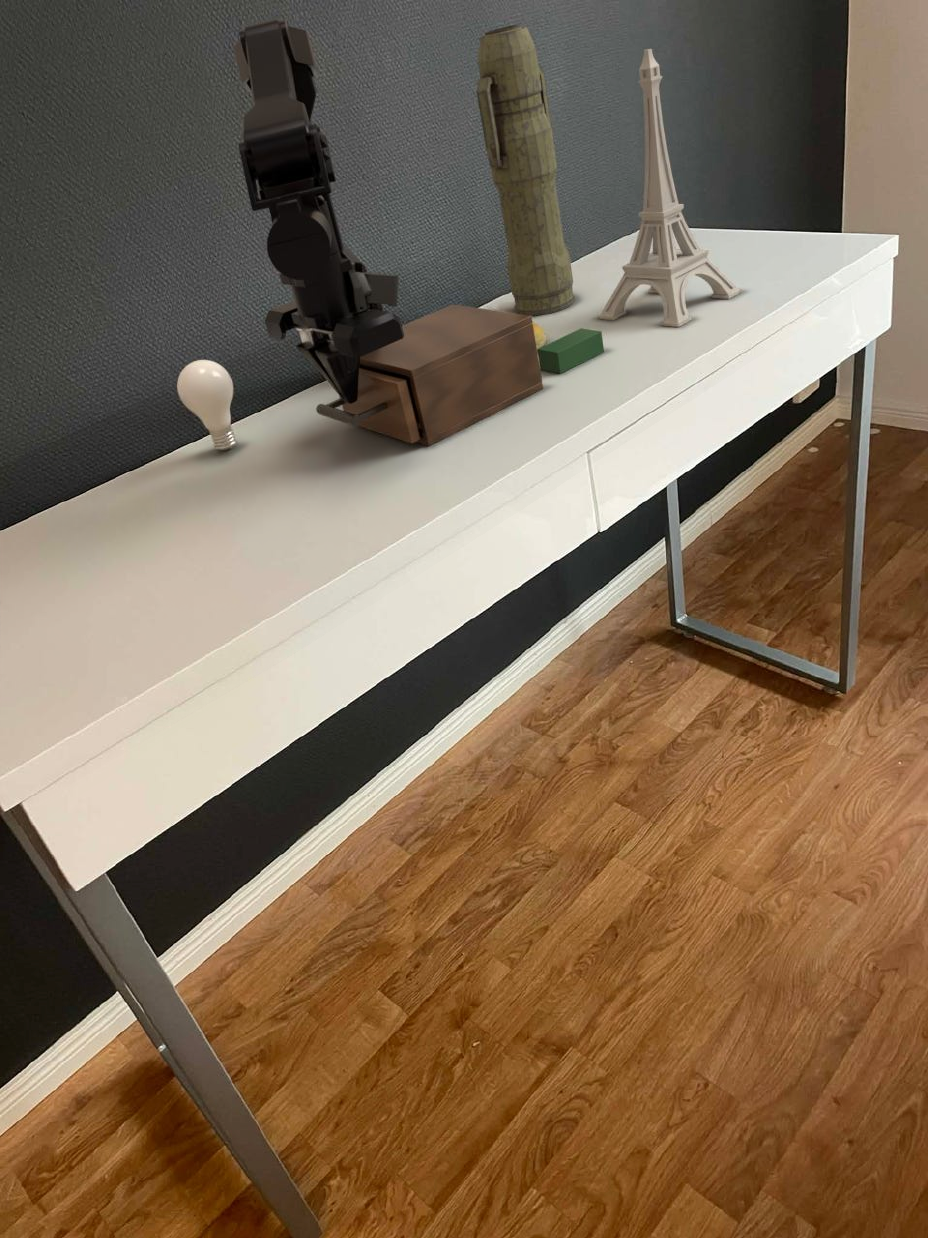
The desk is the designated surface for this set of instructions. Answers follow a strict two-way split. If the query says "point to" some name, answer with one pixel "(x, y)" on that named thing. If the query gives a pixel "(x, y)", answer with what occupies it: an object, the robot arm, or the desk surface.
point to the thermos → (524, 169)
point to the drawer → (379, 405)
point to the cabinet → (462, 366)
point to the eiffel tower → (663, 226)
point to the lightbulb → (209, 399)
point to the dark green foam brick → (570, 350)
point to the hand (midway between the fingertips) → (351, 402)
